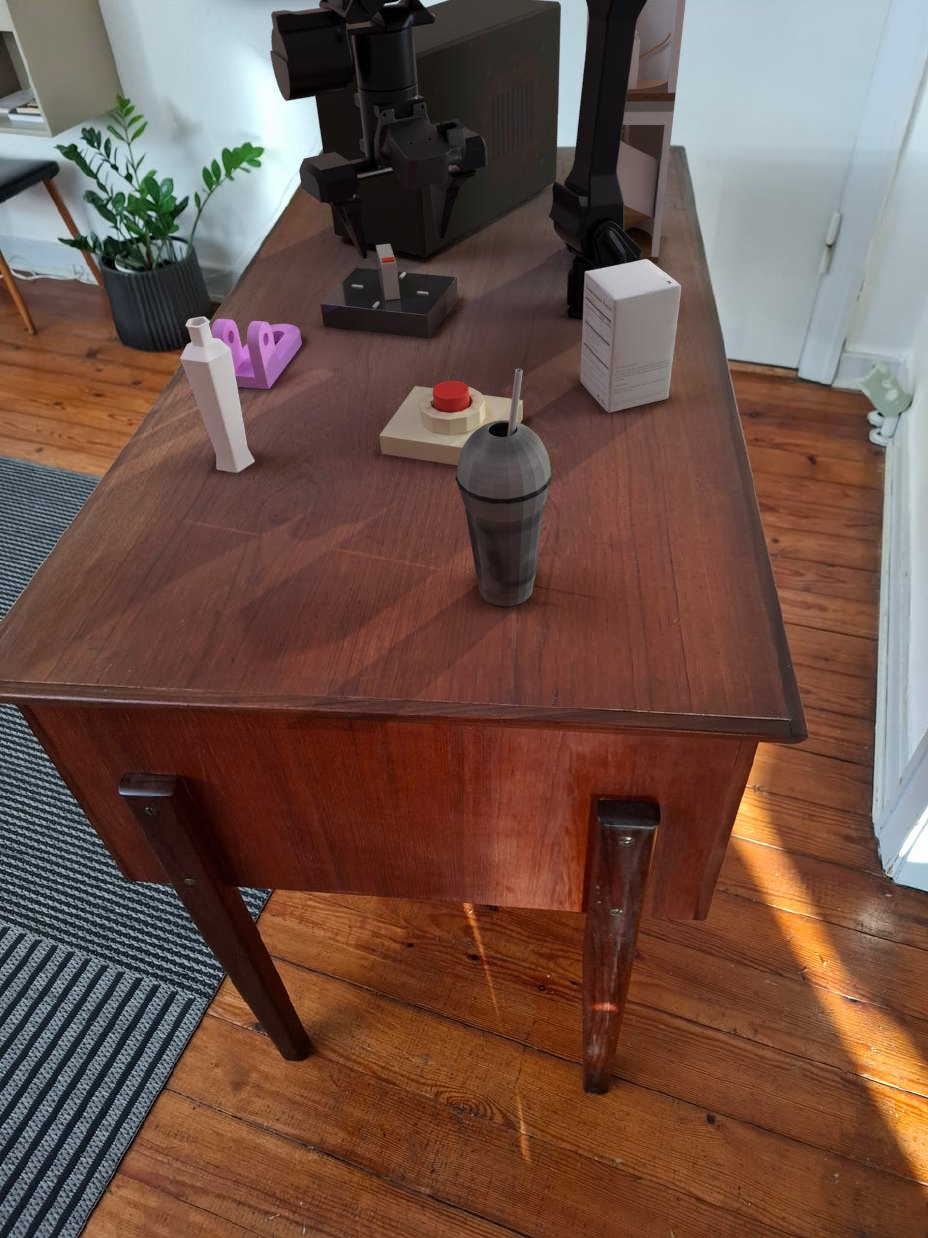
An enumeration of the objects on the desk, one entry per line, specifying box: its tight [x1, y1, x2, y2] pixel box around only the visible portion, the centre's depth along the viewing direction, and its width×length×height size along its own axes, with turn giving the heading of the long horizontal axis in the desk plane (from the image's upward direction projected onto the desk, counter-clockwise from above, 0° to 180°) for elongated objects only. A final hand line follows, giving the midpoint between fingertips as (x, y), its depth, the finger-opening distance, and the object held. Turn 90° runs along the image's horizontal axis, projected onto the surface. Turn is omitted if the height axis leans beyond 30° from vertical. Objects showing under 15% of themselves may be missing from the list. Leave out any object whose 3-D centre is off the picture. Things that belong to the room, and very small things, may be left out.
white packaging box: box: [579, 259, 682, 414], centre depth 93 cm, size 7×7×13 cm
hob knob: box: [375, 244, 400, 300], centre depth 110 cm, size 6×2×5 cm, turn 11°
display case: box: [585, 0, 687, 267], centre depth 111 cm, size 11×11×35 cm
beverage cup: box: [455, 368, 553, 607], centre depth 68 cm, size 7×7×20 cm
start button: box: [432, 380, 469, 413], centre depth 89 cm, size 4×4×2 cm
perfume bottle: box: [179, 316, 256, 474], centre depth 85 cm, size 5×4×15 cm
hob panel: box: [320, 267, 459, 339], centre depth 112 cm, size 14×11×3 cm
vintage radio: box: [314, 0, 562, 258], centre depth 129 cm, size 38×20×25 cm, turn 144°
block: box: [379, 385, 524, 466], centre depth 91 cm, size 12×10×4 cm
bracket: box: [211, 318, 303, 390], centre depth 103 cm, size 13×6×7 cm, turn 167°
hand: (402, 247), depth 96 cm, fingers open, 9 cm apart
